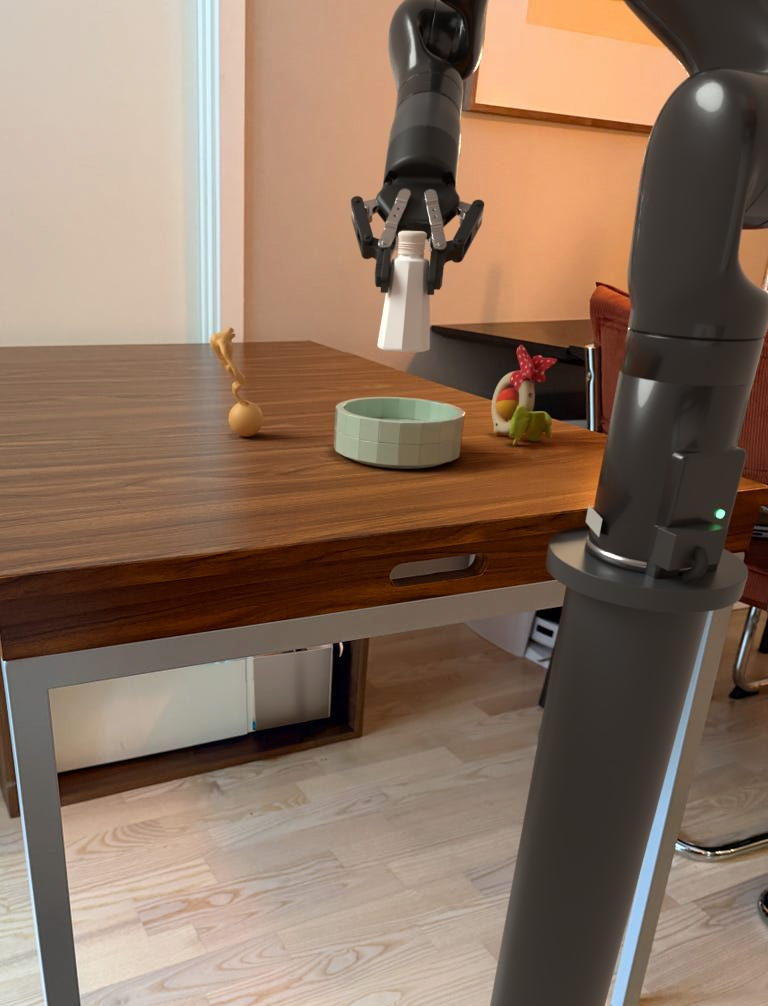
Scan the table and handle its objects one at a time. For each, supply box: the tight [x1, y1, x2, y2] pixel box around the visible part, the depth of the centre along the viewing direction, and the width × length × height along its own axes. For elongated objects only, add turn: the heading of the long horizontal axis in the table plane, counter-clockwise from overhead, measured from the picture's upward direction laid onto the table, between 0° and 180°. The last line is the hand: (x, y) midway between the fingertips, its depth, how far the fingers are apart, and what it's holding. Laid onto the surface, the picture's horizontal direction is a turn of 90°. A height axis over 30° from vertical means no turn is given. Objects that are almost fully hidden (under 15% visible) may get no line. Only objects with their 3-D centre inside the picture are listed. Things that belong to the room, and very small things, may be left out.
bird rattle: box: [491, 344, 558, 446], centre depth 101 cm, size 6×11×9 cm
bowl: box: [333, 396, 466, 470], centre depth 93 cm, size 14×14×5 cm
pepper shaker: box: [377, 231, 431, 353], centre depth 87 cm, size 5×5×11 cm
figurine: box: [209, 326, 264, 438], centre depth 98 cm, size 8×6×12 cm
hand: (407, 287), depth 85 cm, fingers closed on pepper shaker, 4 cm apart
